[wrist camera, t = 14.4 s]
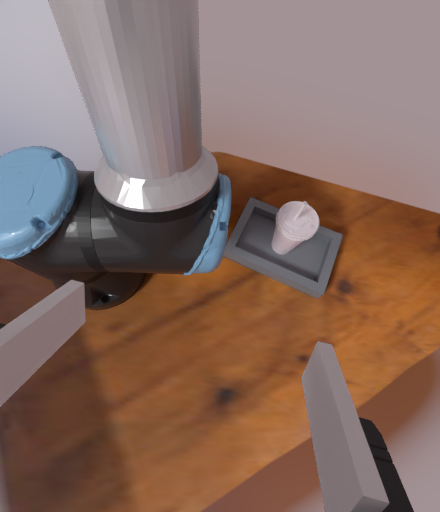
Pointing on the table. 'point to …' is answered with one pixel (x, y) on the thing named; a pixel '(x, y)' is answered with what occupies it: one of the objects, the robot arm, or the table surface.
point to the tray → (287, 265)
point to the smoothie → (294, 226)
